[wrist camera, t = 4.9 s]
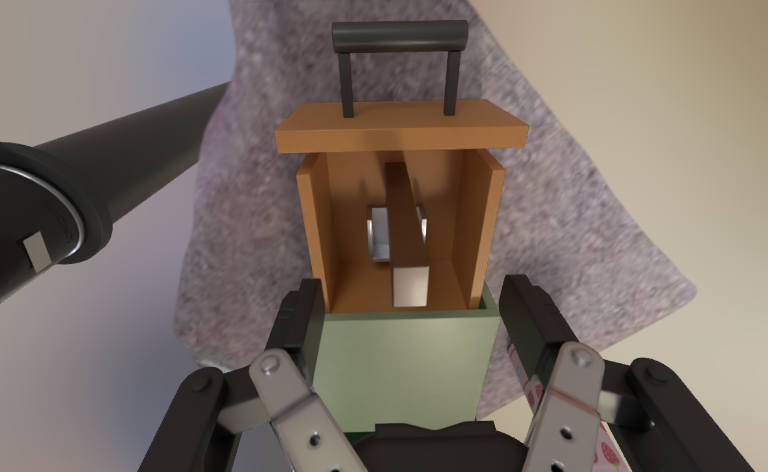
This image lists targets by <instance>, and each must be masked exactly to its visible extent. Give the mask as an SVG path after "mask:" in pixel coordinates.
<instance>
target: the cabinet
mask: <svg viewBox="0 0 768 472" xmlns="http://www.w3.org/2000/svg"><path fill="white" fill-rule="evenodd" d="M311 278H314V277H313V271H312V275H311ZM500 318H501V316H500V313H499V311H498V309H497V307H496V304H495V302H494V300H493V297H492V295H491V293H490V291H489V288H488V286H487V284H486V282H485V279H484V283H483V288H482V293H481V298H480V303H479V308H478V309H476V310H440V311H404V312H368V313H331V314H325V320H324V325H323V330H322V336H321V341H320V346H319V352H318V357H317V363H316V368H315V373H314V379H313V386H314V390H315V392H316V393H317V394H318V395H319V396H320V398H321V399H322V401H323V402H324V404H325V405H326V407H327V408H328V410H329V412H330V413H331V415H332V416H333V418H334V419H335V421H336V422H337V424H338V425H339V427H340V429H341V430H342V432H371V431H375V424H377V423H407V424H411V425H415V426H419V427H423V428H427V429H431V430H435V429H442V428H445V427H448V426H451V425H454V424H458V423H461V422H464V421H474V420H475V416H476V412H477V408H478V404H479V400H480V396H481V392H482V388H483V385H484V381H485V377H486V373H487V369H488V365H489V361H490V357H491V353H492V349H493V345H494V341H495V338H496V334H497V330H498V326H499V322H500Z"/></svg>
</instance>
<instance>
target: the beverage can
mask: <svg viewBox="0 0 768 472" xmlns="http://www.w3.org/2000/svg"><path fill="white" fill-rule="evenodd" d="M508 354H509V357H510V360H511V362H512V365H513V367H514V369H515V372H516V374H517V377H518V379H519V381H520V384H521V386H522V389H523V391H524V394H525V396H526V398H527V400H528V403H529V405H530V408H531V410H532V413H533V415H534V413H535V410H536V407H537V404H538V401H539V398H540V395H541V392H542V390H543V386H542V384H541V382H529V379H528V377H527V375H526V372H525V370H524V368H523V365H522V363H521V361H520V359H519V356H518V354H517V352H516V349H515V347H514V345H513V343H512V344H511V346H510V348H509V351H508ZM592 472H630V471H629V470H628V468H627V466H626V464H625V463H624V461H623V459H622V457H621V456H620V454H619V452H618V450H617V449H616V447H615V445H614V444H613V442H612V440H611V438H610V437H609V435H608V433H607V431H606V430H605V428H604V426H603V424H602V423H601V421H600V427H599V434H598V440H597V446H596V452H595V458H594V464H593V470H592Z"/></svg>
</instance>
